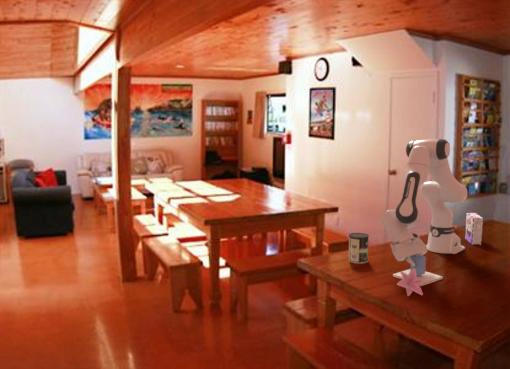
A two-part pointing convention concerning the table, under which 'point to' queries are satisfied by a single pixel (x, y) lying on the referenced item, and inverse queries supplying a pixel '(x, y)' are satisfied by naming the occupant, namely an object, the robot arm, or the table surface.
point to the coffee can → (358, 248)
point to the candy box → (474, 228)
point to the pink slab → (421, 277)
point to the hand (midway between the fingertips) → (419, 264)
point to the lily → (411, 282)
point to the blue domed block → (419, 264)
